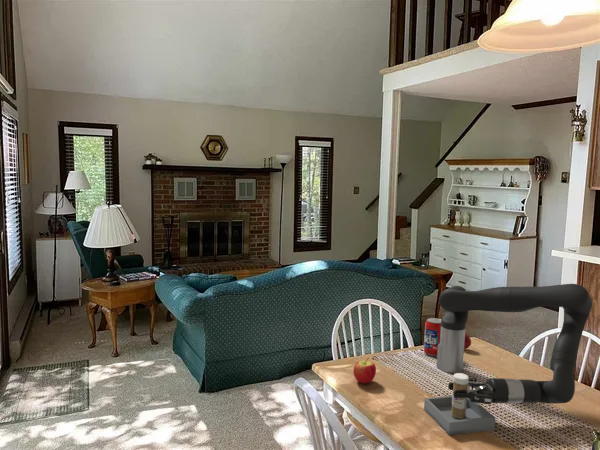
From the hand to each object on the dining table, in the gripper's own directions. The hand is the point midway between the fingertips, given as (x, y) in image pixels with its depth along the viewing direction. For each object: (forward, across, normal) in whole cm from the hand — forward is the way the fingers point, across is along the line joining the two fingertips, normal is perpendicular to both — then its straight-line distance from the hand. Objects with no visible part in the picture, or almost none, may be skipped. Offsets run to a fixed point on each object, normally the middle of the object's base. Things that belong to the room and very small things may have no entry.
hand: (451, 390), depth 153 cm
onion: (-25, -61, +10) cm, 67 cm away
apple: (+24, -26, +10) cm, 37 cm away
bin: (-3, 0, +10) cm, 10 cm away
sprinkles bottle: (-3, 0, +9) cm, 9 cm away
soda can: (-10, -55, +10) cm, 57 cm away
